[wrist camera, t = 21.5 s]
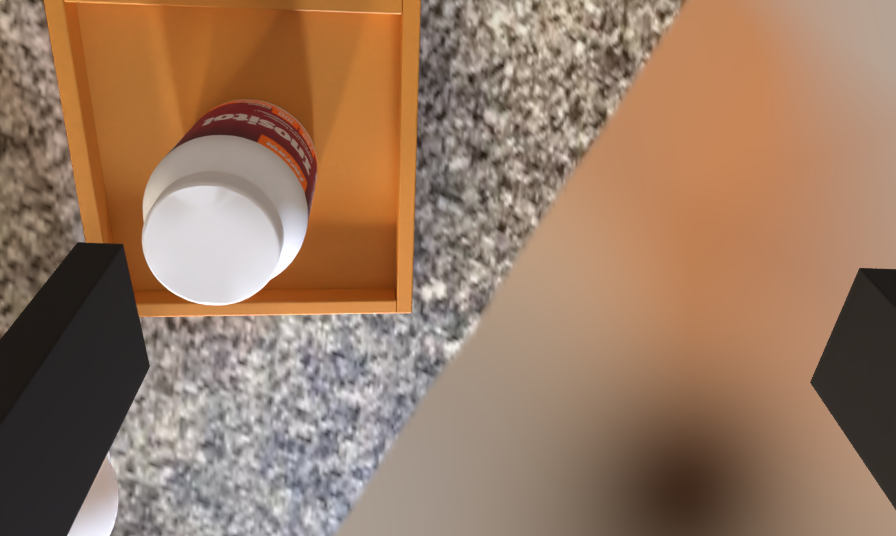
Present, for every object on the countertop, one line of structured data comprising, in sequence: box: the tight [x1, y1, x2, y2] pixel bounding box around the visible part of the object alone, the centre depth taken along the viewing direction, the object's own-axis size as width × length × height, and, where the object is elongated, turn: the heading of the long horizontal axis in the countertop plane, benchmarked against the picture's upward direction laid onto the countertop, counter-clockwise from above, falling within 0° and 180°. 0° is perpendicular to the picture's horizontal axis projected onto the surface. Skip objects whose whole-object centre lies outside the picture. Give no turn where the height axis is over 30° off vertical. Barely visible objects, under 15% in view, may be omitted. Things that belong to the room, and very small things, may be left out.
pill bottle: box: [142, 99, 318, 305], centre depth 30 cm, size 6×6×11 cm
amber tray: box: [44, 0, 421, 317], centre depth 34 cm, size 16×16×2 cm
